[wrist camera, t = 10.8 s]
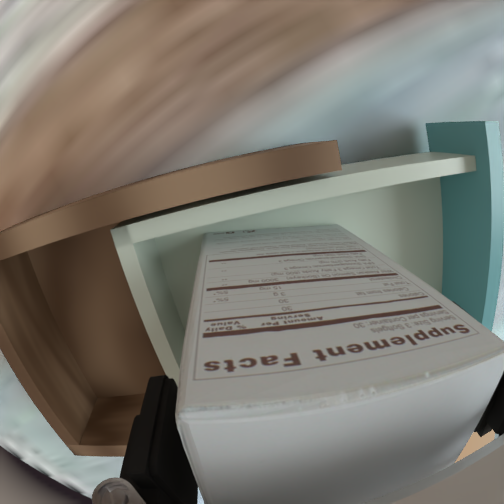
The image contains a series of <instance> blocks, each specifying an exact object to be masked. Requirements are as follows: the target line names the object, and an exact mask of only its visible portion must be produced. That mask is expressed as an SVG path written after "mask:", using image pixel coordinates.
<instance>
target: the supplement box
mask: <svg viewBox="0 0 504 504" xmlns="http://www.w3.org/2000/svg"><path fill="white" fill-rule="evenodd" d="M503 372H504V341H503V340H501V339H500V338H499V337H498V336H496V335H495V334H494V333H493V332H491V331H490V330H489V329H487V328H486V327H485V326H483V325H482V324H481V323H480V322H478V321H477V320H476V319H474V318H473V317H472V316H471V315H469V314H468V313H467V312H465V311H464V310H463V309H461V308H460V307H459V306H457V305H456V304H455V303H453V302H452V301H451V300H449V299H448V298H446V297H445V296H444V295H442V294H441V293H439V292H438V291H437V290H435V289H434V288H433V287H431V286H430V285H428V284H427V283H425V282H424V281H423V280H421V279H420V278H418V277H417V276H415V275H414V274H412V273H411V272H409V271H408V270H406V269H405V268H404V267H402V266H401V265H399V264H398V263H396V262H395V261H393V260H392V259H390V258H389V257H387V256H386V255H385V254H383V253H382V252H380V251H379V250H377V249H375V248H374V247H373V246H371V245H370V244H368V243H366V242H365V241H363V240H362V239H360V238H359V237H357V236H356V235H354V234H353V233H351V232H349V231H348V230H346V229H345V228H343V227H342V226H340V225H338V224H330V225H316V226H299V227H285V228H268V229H253V230H239V231H227V232H212V233H205V234H204V235H203V239H202V244H201V250H200V256H199V261H198V266H197V271H196V276H195V282H194V287H193V292H192V298H191V303H190V308H189V314H188V320H187V325H186V331H185V337H184V343H183V350H182V356H181V364H180V371H179V381H178V392H177V402H176V412H175V417H176V424H177V429H178V431H179V434H180V437H181V440H182V444H183V447H184V450H185V453H186V455H187V458H188V460H189V463H190V466H191V468H192V471H193V474H194V477H195V479H196V482H197V485H198V487H199V490H200V492H201V495H202V497H203V500H204V504H361V503H364V502H367V501H370V500H373V499H375V498H378V497H381V496H384V495H386V494H389V493H391V492H394V491H397V490H399V489H401V488H404V487H406V486H409V485H411V484H413V483H415V482H418V481H420V480H422V479H424V478H426V477H428V476H431V475H433V474H435V473H437V472H439V471H441V470H443V469H445V468H447V467H449V466H450V465H452V464H454V462H455V461H456V459H457V458H458V456H459V455H460V453H461V451H462V450H463V448H464V447H465V445H466V443H467V442H468V440H469V438H470V437H471V435H472V433H473V431H474V430H475V428H476V426H477V424H478V423H479V421H480V419H481V417H482V415H483V413H484V411H485V409H486V407H487V405H488V403H489V401H490V399H491V397H492V395H493V393H494V391H495V389H496V387H497V385H498V383H499V381H500V378H501V376H502V374H503Z"/></svg>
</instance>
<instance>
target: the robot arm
mask: <svg viewBox="0 0 504 504" xmlns="http://www.w3.org/2000/svg"><path fill="white" fill-rule="evenodd" d="M452 302H453V303H455V302H454V301H452ZM455 304H456V303H455ZM456 305H457V306H459V305H458V304H456ZM459 307H460V306H459ZM460 308H461V307H460ZM461 309H463V308H461ZM463 310H464V309H463ZM464 311H465V310H464ZM465 312H466V311H465ZM468 314H469V313H468ZM469 315H470V314H469ZM474 319H475V318H474ZM177 392H178V387H177V384H176V382H175V380H174V379H173V378H170V379H169V377H168V376H167V375H161V376H153V377H150V378H149V381H148V384H147V388H146V392H145V396H144V400H143V403H142V407H141V411H140V415H136V416H135V418H134V420H133V424H132V428H131V432H130V436H129V440H128V444H127V448H126V452H125V456H124V460H123V465H122V469H121V473H120V478H109V479H107V480H104V481H102V482H101V483H100V484H98V485H97V487H96V488H95V489H94V492H93V495H92V502H93V504H197V496H198V485H197V482H196V479H195V477H194V474H193V471H192V468H191V466H190V463H189V460H188V458H187V455H186V453H185V450H184V447H183V444H182V440H181V437H180V434H179V431H178V429H177V424H176V417H175V412H176V402H177ZM492 429H493V430H494V432H495V439H494V440H493V441H492V442H490V443H488V444H487V445H485V446H484V447H482V448H480V449H479V450H477V451H475V452H474V453H472V454H470V455H469V456H467V457H465V458H463V459H462V460H460V461H458V462H456V463H454V464H452V465H450V466H449V467H447V468H445V469H443V470H441V471H439V472H437V473H435V474H433V475H431V476H428V477H426V478H424V479H422V480H420V481H418V482H415V483H413V484H411V485H409V486H406V487H404V488H401V489H399V490H397V491H394V492H391V493H389V494H386V495H384V496H381V497H378V498H375V499H373V500H370V501H367V502H364V503H361V504H504V372H503V374H502V376H501V378H500V381H499V383H498V385H497V387H496V389H495V391H494V393H493V395H492V397H491V399H490V401H489V403H488V405H487V407H486V409H485V411H484V413H483V415H482V417H481V419H480V421H479V423H478V424H477V426H476V428H475V430H474V432H477V433H478V434H479V435H480V437H482V436H483V435H485V434H486V433H488V432H489V431H491V430H492Z"/></svg>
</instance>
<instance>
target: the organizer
mask: <svg viewBox="0 0 504 504" xmlns="http://www.w3.org/2000/svg"><path fill="white" fill-rule="evenodd" d="M340 170H342V166H341V160H340V155H339V149H338V144H337V140H333V141H321V142H310V143H300V144H294V145H289V146H283V147H278V148H273V149H268V150H263V151H258V152H253V153H248V154H243V155H239V156H234V157H230V158H225V159H221V160H217V161H213V162H208V163H204V164H200V165H196V166H192V167H188V168H184V169H181V170H177V171H173V172H169V173H166V174H162V175H159V176H155V177H151V178H148V179H145V180H141V181H138V182H134V183H131V184H128V185H125V186H121V187H118V188H115V189H112V190H109V191H106V192H103V193H100V194H97V195H94V196H91V197H88V198H85V199H82V200H79V201H76V202H73V203H70V204H68V205H65V206H62V207H59V208H57V209H54V210H51V211H49V212H46V213H44V214H41V215H38V216H36V217H33V218H31V219H28V220H26V221H23V222H21V223H18V224H16V225H14V226H12V227H9V228H7V229H5V230H3V231H1V232H0V349H1V351H2V352H3V354H4V356H5V358H6V359H7V361H8V363H9V365H10V366H11V368H12V370H13V371H14V373H15V375H16V376H17V378H18V379H19V381H20V383H21V384H22V386H23V387H24V389H25V390H26V392H27V393H28V395H29V396H30V398H31V399H32V401H33V402H34V404H35V405H36V407H37V408H38V409H39V411H40V412H41V413H42V415H43V416H44V418H45V419H46V420H47V422H48V423H49V424H50V425H51V427H52V428H53V429H54V431H55V432H56V433H57V434H58V436H59V437H60V438H61V439H62V441H63V442H64V443H65V444H66V445H67V447H68V448H69V449H70V450H71V451H72V452H73V454H74V455H79V456H125V452H126V448H127V444H128V440H129V436H130V432H131V428H132V424H133V420H134V418H135V416H136V415H140V411H141V407H142V403H143V400H144V396H145V392H146V388H147V384H148V381H149V378H150V377H153V376H161V375H166V374H165V372H164V370H163V367H162V365H161V363H160V361H159V359H158V356H157V354H156V352H155V350H154V347H153V345H152V343H151V340H150V338H149V336H148V333H147V331H146V328H145V326H144V323H143V321H142V319H141V316H140V314H139V311H138V308H137V306H136V303H135V301H134V298H133V295H132V293H131V290H130V287H129V285H128V282H127V279H126V276H125V273H124V271H123V268H122V265H121V262H120V259H119V256H118V253H117V250H116V247H115V244H114V240H113V237H112V234H111V231H110V230H111V229H112V228H114V227H115V226H116V225H118V224H119V223H120V222H122V221H124V220H127V219H131V218H135V217H138V216H142V215H145V214H149V213H153V212H156V211H160V210H164V209H168V208H171V207H175V206H179V205H183V204H187V203H191V202H195V201H199V200H203V199H207V198H211V197H215V196H220V195H224V194H228V193H232V192H237V191H241V190H246V189H250V188H255V187H259V186H264V185H268V184H273V183H278V182H283V181H288V180H293V179H298V178H303V177H308V176H313V175H318V174H323V173H329V172H334V171H340Z"/></svg>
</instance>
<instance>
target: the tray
mask: <svg viewBox="0 0 504 504" xmlns="http://www.w3.org/2000/svg"><path fill="white" fill-rule="evenodd" d="M426 129H427V136H428V142H429V150H430V152H425V153H417V154H409V155H402V156H395V157H388V158H381V159H374V160H368V161H362V162H355V163H349V164H343V165H341V166H342V170H340V171H334V172H329V173H323V174H318V175H313V176H308V177H303V178H298V179H293V180H288V181H283V182H278V183H273V184H268V185H264V186H259V187H255V188H250V189H246V190H241V191H237V192H232V193H228V194H224V195H220V196H215V197H211V198H207V199H203V200H199V201H195V202H191V203H187V204H183V205H179V206H175V207H171V208H168V209H164V210H160V211H156V212H153V213H149V214H145V215H142V216H138V217H135V218H131V219H127V220H124V221H122V222H120V223H119V224H118V225H116V226H115V227H114V228H112V229H111V230H110V231H111V234H112V237H113V240H114V244H115V247H116V250H117V253H118V256H119V259H120V262H121V265H122V268H123V271H124V273H125V276H126V279H127V282H128V285H129V287H130V290H131V293H132V295H133V298H134V301H135V303H136V306H137V308H138V311H139V314H140V316H141V319H142V321H143V323H144V326H145V328H146V331H147V333H148V336H149V338H150V340H151V343H152V345H153V347H154V350H155V352H156V354H157V356H158V359H159V361H160V363H161V365H162V367H163V370H164V372H165V374H166V375H167V376H168V377H169V379H170V378H173V379H174V380H175V382H176V384H177V387H178V381H179V371H180V364H181V356H182V350H183V343H184V337H185V331H186V325H187V320H188V314H189V308H190V303H191V298H192V292H193V287H194V282H195V276H196V271H197V266H198V261H199V256H200V250H201V244H202V239H203V235H204V234H205V233H212V232H227V231H239V230H253V229H268V228H285V227H299V226H316V225H330V224H338V225H340V226H342V227H343V228H345V229H346V230H348V231H349V232H351V233H353V234H354V235H356V236H357V237H359V238H360V239H362V240H363V241H365V242H366V243H368V244H370V245H371V246H373V247H374V248H375V249H377V250H379V251H380V252H382V253H383V254H385V255H386V256H387V257H389V258H390V259H392V260H393V261H395V262H396V263H398V264H399V265H401V266H402V267H404V268H405V269H406V270H408V271H409V272H411V273H412V274H414V275H415V276H417V277H418V278H420V279H421V280H423V281H424V282H425V283H427V284H428V285H430V286H431V287H433V288H434V289H435V290H437V291H438V292H439V293H441V294H442V295H444V296H445V297H446V298H448V299H449V300H451V301H454V302H455V303H456V304H458V305H459V306H460V307H461V308H463V309H464V310H465V311H466V312H467V313H469V314H470V315H471V316H472V317H473V318H475V319H476V320H477V321H478V322H480V323H481V324H482V325H483V326H485V327H486V328H487V329H489V330H490V331H492V327H493V322H494V316H495V311H496V305H497V298H498V292H499V284H500V276H501V267H502V256H503V241H504V172H503V158H502V147H501V137H500V129H499V122H498V121H470V122H442V123H426Z"/></svg>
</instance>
